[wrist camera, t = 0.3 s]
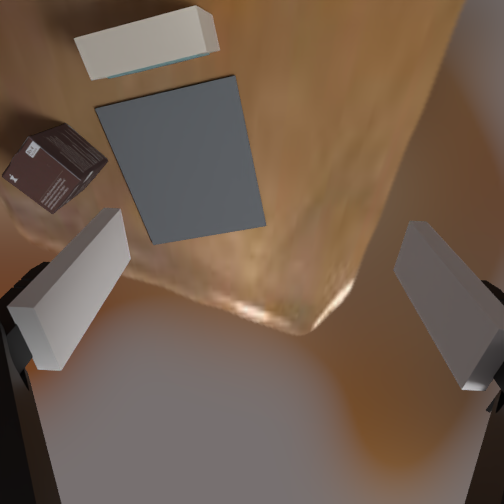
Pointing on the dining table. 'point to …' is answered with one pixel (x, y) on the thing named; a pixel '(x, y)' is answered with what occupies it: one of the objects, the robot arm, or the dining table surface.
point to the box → (54, 166)
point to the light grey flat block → (148, 43)
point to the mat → (187, 160)
